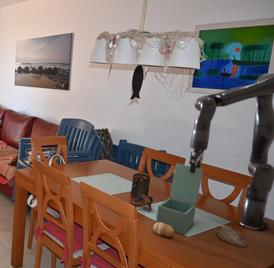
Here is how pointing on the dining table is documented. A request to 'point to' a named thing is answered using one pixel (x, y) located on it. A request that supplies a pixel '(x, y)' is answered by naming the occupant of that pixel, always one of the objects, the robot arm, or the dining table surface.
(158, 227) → the potato
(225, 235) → the oyster shell
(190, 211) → the bin
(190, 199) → the bin lid
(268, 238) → the dining table surface
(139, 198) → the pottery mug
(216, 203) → the dining table surface
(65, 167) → the dining table surface
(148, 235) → the dining table surface
